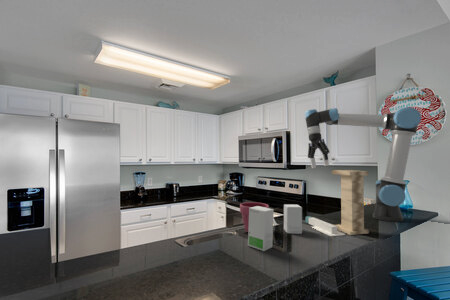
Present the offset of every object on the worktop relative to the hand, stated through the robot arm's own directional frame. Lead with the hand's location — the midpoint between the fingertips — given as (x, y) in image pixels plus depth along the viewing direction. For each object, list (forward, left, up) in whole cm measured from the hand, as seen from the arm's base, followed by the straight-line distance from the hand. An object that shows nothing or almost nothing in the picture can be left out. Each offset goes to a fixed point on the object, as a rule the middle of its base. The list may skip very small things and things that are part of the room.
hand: (320, 166), depth 150 cm
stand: (+4, +28, -31) cm, 42 cm away
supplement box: (+33, +22, -31) cm, 50 cm away
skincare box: (+57, +37, -31) cm, 75 cm away
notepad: (+16, +26, -31) cm, 43 cm away
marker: (+16, +21, -30) cm, 40 cm away
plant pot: (+51, +16, -31) cm, 62 cm away
